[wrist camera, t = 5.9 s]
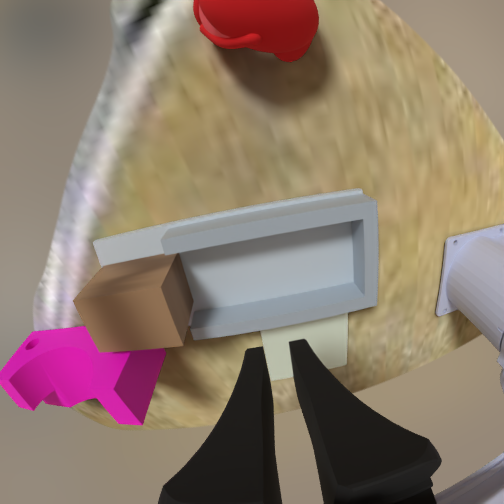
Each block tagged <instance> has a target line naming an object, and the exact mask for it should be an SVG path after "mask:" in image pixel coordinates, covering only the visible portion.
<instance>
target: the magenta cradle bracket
mask: <svg viewBox="0 0 504 504" xmlns="http://www.w3.org/2000/svg"><path fill="white" fill-rule="evenodd" d="M165 355H166V352H165V350H164V348H158V349H147V350H134V351H120V352H101V353H100V352H99V350H98V349H97V347H96V345H95V343H94V341H93V340H92V338H91V336H90V334H89V332H88V330H87V328H86V327H85V326H81V327H73V328H64V329H54V330H45V331H34V332H32V333H31V334H30V335H29V336H28V338H27V339H26V340H25V341H24V342H23V344H22V345H21V346H20V347H19V349H18V350H17V351H16V352H15V354H14V355H13V356H12V357H11V358H10V360H9V361H8V362H7V364H6V365H5V366H4V367H3V369H2V370H1V371H0V384H1V386H2V387H3V388H4V390H5V391H6V392H7V393H8V395H9V396H10V397H11V398H12V399H13V400H14V402H15V403H16V404H17V405H18V406H19V407H21V408H25V409H29V410H33V411H34V410H35V408H36V407H37V406H38V405H39V403H40V402H41V401H42V400H43V401H44V402H45V403H46V404H51V405H57V406H64V407H72V406H74V405H75V404H77V403H80V402H82V401H85V400H88V399H93V398H97V399H98V400H99V402H100V403H101V404H102V405H103V406H104V408H105V409H106V410H107V411H108V412H109V413H110V415H111V416H112V417H113V418H114V419H115V420H116V421H117V422H118V423H119V424H129V425H143V423H144V419H145V416H146V413H147V410H148V407H149V404H150V400H151V397H152V394H153V391H154V388H155V385H156V382H157V379H158V376H159V373H160V370H161V367H162V364H163V361H164V358H165Z"/></svg>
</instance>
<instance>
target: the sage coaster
mask: <svg viewBox="0 0 504 504" xmlns="http://www.w3.org/2000/svg"><path fill="white" fill-rule="evenodd" d="M260 332H261V336H262V341H263V346H264V350H265V355H266V359H267V364H268V369H269V373H270V378H271V381H274V380H279V379H285V378H290V377H293V370H292V363H291V355H290V348H289V341H294V340H299V339H305V340H307V342H308V343H309V345H310V347H311V348H312V350H313V351H314V353H315V354H316V355H317V357H318V358H319V359H320V361H321V362H322V363H323V364H324V365H325V367H326V368H327V369H332V368H336V367H340V366H344V365H347V341H348V313H344V314H340V315H335V316H331V317H326V318H322V319H317V320H313V321H308V322H303V323H298V324H293V325H288V326H283V327H277V328H272V329H266V330H261V331H260Z"/></svg>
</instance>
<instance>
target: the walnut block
mask: <svg viewBox="0 0 504 504" xmlns="http://www.w3.org/2000/svg"><path fill="white" fill-rule="evenodd" d="M73 302H74V304H75V306H76V309H77V311H78V313H79V315H80V317H81V319H82V321H83V323H84V325H85V327H86V328H87V330H88V332H89V334H90V336H91V338H92V340H93V341H94V343H95V345H96V347H97V349H98V350H99V352H100V353H101V352H120V351H134V350H147V349H158V348H169V347H178V346H183V345H184V341H185V336H186V332H187V328H188V323H189V319H190V315H191V311H192V307H193V302H194V300H193V297H192V294H191V291H190V288H189V284H188V281H187V278H186V275H185V271H184V268H183V265H182V261H181V258H180V255H179V253H175V254H170V255H165V254H159V255H154V256H149V257H144V258H139V259H134V260H129V261H124V262H119V263H114V264H110V265H105V266H103V267H102V268H101V269H100V270H99V271H98V273H97V274H96V275H95V276H94V277H93V278H92V279H91V280H90V282H89V283H88V284H87V285H86V286H85V287H84V288H83V290H82V291H81V292H80V293H79V294H78V295H77V297H76V298H75V299H74V300H73Z"/></svg>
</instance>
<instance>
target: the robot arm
mask: <svg viewBox="0 0 504 504" xmlns="http://www.w3.org/2000/svg"><path fill="white" fill-rule="evenodd" d="M454 241H455V242H454ZM453 243H454V244H453ZM458 309H459V310H460V311H461V312H462V313H463V314H464V315H465V316H466V317H467V318H468V319H469V320H470V321H471V322H472V323H473V324H474V325H475V326H476V327H477V328H478V329H479V330H480V332H481V333H482V334H483V335H484V336H485V337H486V338H487V339H488V340H489V341H490V342H491V343H492V344H493V345H494V346H495V347H496V349H497V350H498V351H499V352H500V355H499V357H498V359H497V362H498V363H499V364H500V366H502V368H503V369H502V371H501V374H500V381H501V386H502V389H503V393H504V224H501V225H497V226H493V227H489V228H485V229H481V230H477V231H473V232H469V233H465V234H460V235H456V236H452V237H449V238H447V240H446V242H445V250H444V260H443V269H442V276H441V283H440V290H439V296H438V302H437V307H436V315H437V316H442V315H445V314H447V313H450V312H453V311H455V310H458ZM289 348H290V355H291V363H292V370H293V377H294V382H295V387H296V392H297V397H298V400H299V403H300V406H301V409H302V413H303V416H304V419H305V422H306V425H307V428H308V431H309V434H310V438H311V441H312V445H313V449H314V454H315V459H316V464H317V469H318V474H319V479H320V485H321V490H322V496H323V501H324V504H504V452H503V453H502V454H501V455H499V456H498V457H497V458H495V459H494V460H492V461H491V462H489V463H488V464H487V465H485V466H484V467H482V468H481V469H479V470H478V471H476V472H475V473H473V474H471V475H470V476H468V477H466V478H465V479H463V480H462V481H460V482H458V483H456V484H455V485H453V486H451V487H449V488H447V489H445V490H444V491H442V492H440V493H438V494H436V495H434V494H433V492H432V489H431V487H432V486H433V483H432V480H431V478H430V477H431V476H432V475H433V473H434V472H435V471H436V470H437V469H438V468H439V466H440V465H441V462H442V460H441V458H440V456H439V453H438V452H437V450H436V449H435V447H434V446H433V445H432V443H431V442H430V440H429V439H427V438H425V437H422V436H420V435H418V434H415V433H413V432H411V431H409V430H406V429H404V428H403V427H401V426H399V425H397V424H395V423H393V422H391V421H390V420H388V419H387V418H385V417H383V416H382V415H380V414H379V413H377V412H375V411H374V410H372V409H371V408H370V407H368V406H367V405H366V404H364V403H363V402H361V401H360V400H359V399H358V398H357V397H356V396H354V395H353V394H352V393H351V392H350V391H349V390H348V389H346V388H345V387H344V386H343V385H342V384H341V383H340V382H339V381H338V380H337V379H336V378H335V377H334V376H333V374H332V373H331V372H330V371H329V370H328V369H327V368H326V367H325V365H324V364H323V363H322V362H321V361H320V359H319V358H318V357H317V355H316V354H315V353H314V351H313V350H312V348H311V347H310V345H309V343H308V342H307V340H305V339H299V340H294V341H289ZM158 504H282V499H281V492H280V485H279V478H278V471H277V464H276V456H275V440H274V406H273V396H272V389H271V382H270V377H269V372H268V368H267V363H266V359H265V354H264V350H263V346H262V347H256V348H250V349H247V350H246V351H245V356H244V360H243V364H242V368H241V371H240V374H239V377H238V380H237V382H236V385H235V388H234V390H233V392H232V395H231V397H230V399H229V401H228V403H227V405H226V408H225V410H224V411H223V413H222V415H221V417H220V419H219V420H218V422H217V424H216V425H215V427H214V429H213V430H212V432H211V433H210V435H209V436H208V438H207V439H206V440H205V442H204V443H203V444H202V446H201V447H200V448H199V450H198V451H197V452H196V453H195V454H194V455H193V457H192V458H191V459H190V460H189V461H188V462H187V464H186V465H185V466H184V467H183V468H182V469H181V470H180V471H179V472H178V473H177V474H175V475H174V477H172V478H171V479H170V480H169V481H168V482H167V483H166V484H165V485H164V486H163V488H162V491H161V494H160V497H159V501H158Z"/></svg>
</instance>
